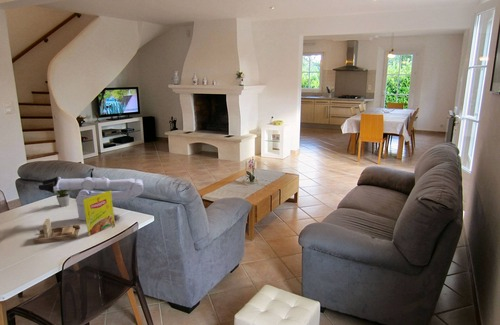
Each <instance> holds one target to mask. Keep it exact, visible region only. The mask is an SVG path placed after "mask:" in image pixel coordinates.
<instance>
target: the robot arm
mask: <svg viewBox="0 0 500 325" xmlns="http://www.w3.org/2000/svg"><path fill="white" fill-rule="evenodd" d="M110 187H125V188H127V189H126V190H115V191H114V190H113V191H112V190H111V196H112V202H113V201H115V202H117V201H119V202H120V201H131V200H133V199H135V198H136V197H138V196H141V194H142V193H143V191H144V188H145V187H144V180H143V179H141V178H133V177H131V178H123V179H109V178H108V177H106V176H102V177H95V176H92V177H91V176H87V177H85V178H80V177H79V178H61V176H55V177H53V178H49V179H45V180H42V184H39V185H38V190H40V191H45V192H50V193H51V194H54V192H57V191H58V190H67V191H68V190H70V189H73V190H80V191H79V192H78V194H77V196H76V198H75V202H76V207H77V213H78V219H79V220H81V221H86V215H85V209H84V201H83V200H84V199H87V198H90V197H93V196H95V195H98V194H101V193H104V192H105V191H95V189H96V190H97V189H108V188H110ZM93 189H94V190H93ZM70 191H71V190H70Z"/></svg>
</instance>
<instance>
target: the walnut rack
mask: <svg viewBox="0 0 500 325" xmlns="http://www.w3.org/2000/svg"><path fill="white" fill-rule="evenodd" d="M71 226H73V228H75V232H74V234H71V235H63V236H61V234H62V230H63V228H65V227H71ZM51 229H52V233H51V235H50V237H47V238H45V236H44V230H43V228H41V229H39V235H38V236H37V238H34V239H33V240H32V243H33V245H38V244H43V243H45V244H46V243H52V242H53V243H54V242H62V241H68V240H75V239H77V237H78V235H79V232H80V229H81V225H80V224H73V225H66V226H65V225H64V226H57V227H51Z"/></svg>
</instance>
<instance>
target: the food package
mask: <svg viewBox="0 0 500 325" xmlns="http://www.w3.org/2000/svg"><path fill="white" fill-rule="evenodd" d="M111 191H112V190H111V189H110V190H107V191H103V192H104V193H101V194H98V195H95V196H93V197H90V198H87V199H84V200H83V201H84V209H85V215H86V220H85V222H86V228H87V234H88V235H87V236H88V237H91V236H93V235H95V234H98V233H100V232H102V231H104V230H106V229H108V228H115V227H116V221H115V214H114V213H115V212H114V207H113V206H114V205H113V201H112V196H111Z"/></svg>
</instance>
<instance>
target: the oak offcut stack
mask: <svg viewBox="0 0 500 325" xmlns="http://www.w3.org/2000/svg"><path fill="white" fill-rule="evenodd" d="M70 226H71V225H70ZM74 232H75V228H73V226H71V227H65V228H63V230H62V234H61V236H63V235H71V234H74Z"/></svg>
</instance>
